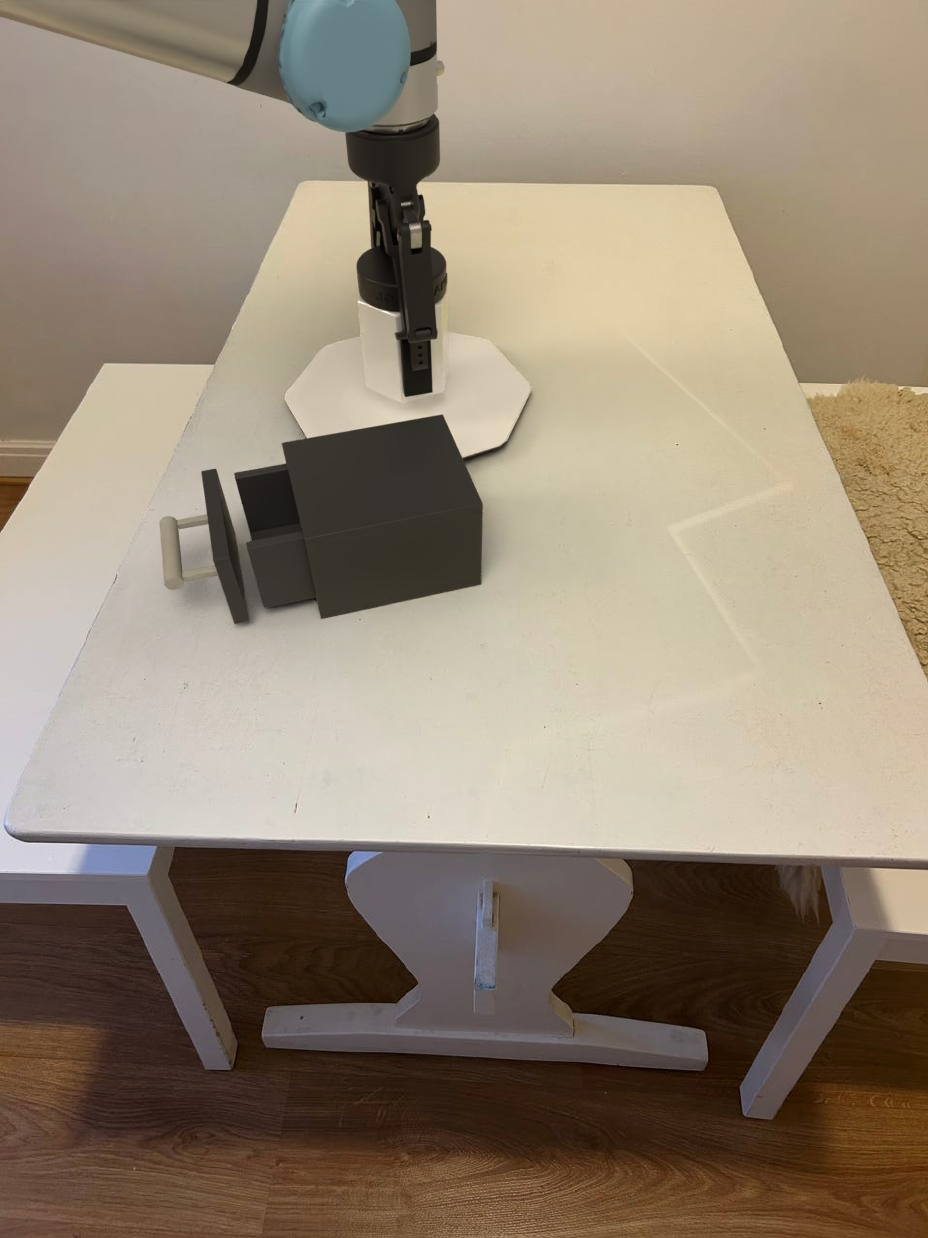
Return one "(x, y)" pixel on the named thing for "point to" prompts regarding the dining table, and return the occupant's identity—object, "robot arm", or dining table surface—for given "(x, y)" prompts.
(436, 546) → the dark grey box
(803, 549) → the dining table surface
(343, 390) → the plate
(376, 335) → the jar
